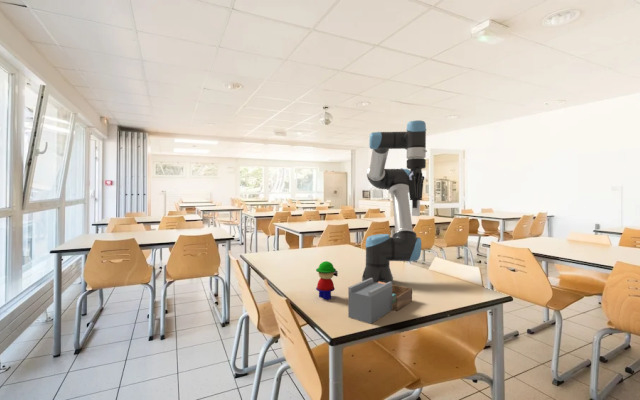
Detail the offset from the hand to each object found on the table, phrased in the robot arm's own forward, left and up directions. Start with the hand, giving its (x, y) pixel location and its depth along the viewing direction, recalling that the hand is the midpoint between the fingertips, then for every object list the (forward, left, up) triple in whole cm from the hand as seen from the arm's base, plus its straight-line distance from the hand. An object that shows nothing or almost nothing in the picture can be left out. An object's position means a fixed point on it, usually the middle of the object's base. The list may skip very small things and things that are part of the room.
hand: (415, 215), depth 126 cm
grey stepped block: (-7, -26, -34) cm, 44 cm away
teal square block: (-7, -13, -31) cm, 34 cm away
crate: (-7, -11, -34) cm, 37 cm away
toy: (-30, -22, -35) cm, 51 cm away
